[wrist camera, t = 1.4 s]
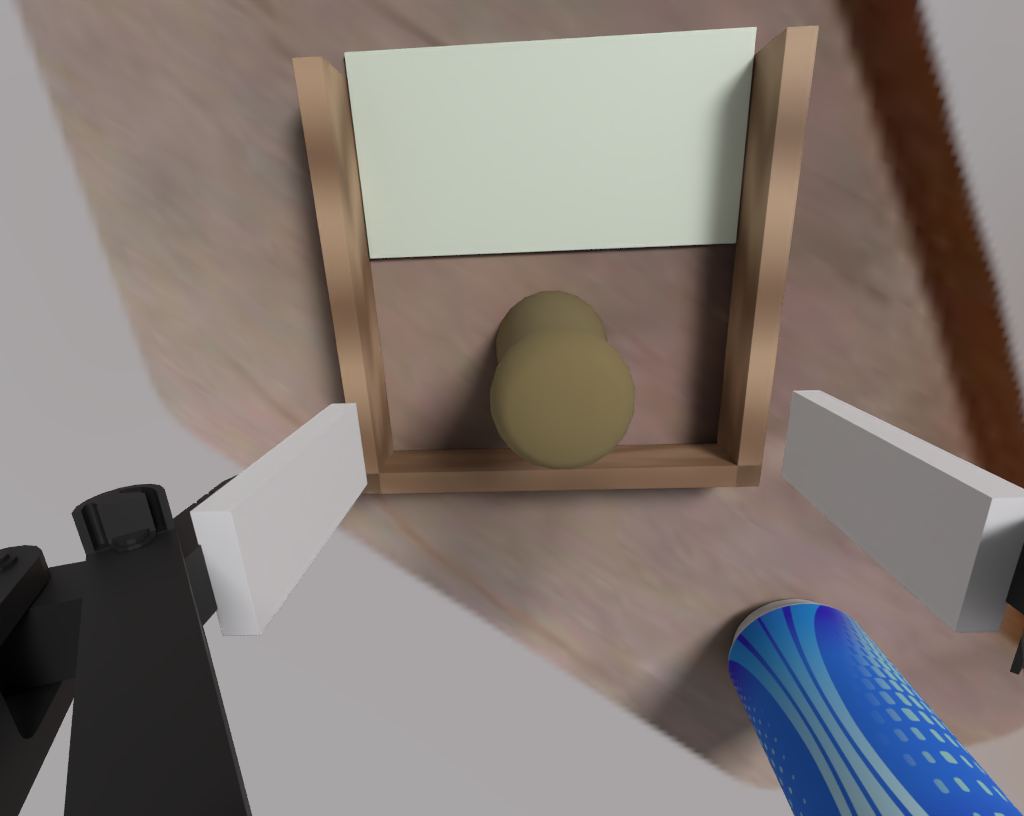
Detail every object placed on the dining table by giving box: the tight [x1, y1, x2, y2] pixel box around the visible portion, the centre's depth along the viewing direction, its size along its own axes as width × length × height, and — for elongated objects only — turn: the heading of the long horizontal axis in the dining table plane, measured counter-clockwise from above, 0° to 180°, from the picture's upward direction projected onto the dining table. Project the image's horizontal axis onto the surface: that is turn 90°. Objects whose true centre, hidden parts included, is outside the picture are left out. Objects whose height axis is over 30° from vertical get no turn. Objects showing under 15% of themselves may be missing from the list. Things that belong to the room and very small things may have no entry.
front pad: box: [344, 27, 757, 259], centre depth 24 cm, size 9×18×1 cm, turn 92°
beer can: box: [728, 599, 1023, 816], centre depth 25 cm, size 8×8×16 cm
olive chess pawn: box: [490, 291, 635, 470], centre depth 21 cm, size 6×6×11 cm
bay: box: [292, 26, 819, 494], centre depth 24 cm, size 20×21×3 cm
